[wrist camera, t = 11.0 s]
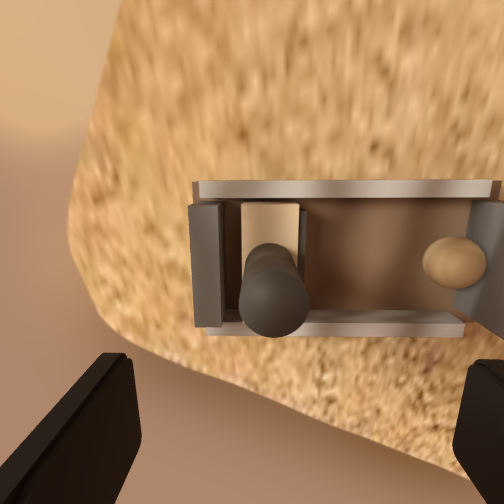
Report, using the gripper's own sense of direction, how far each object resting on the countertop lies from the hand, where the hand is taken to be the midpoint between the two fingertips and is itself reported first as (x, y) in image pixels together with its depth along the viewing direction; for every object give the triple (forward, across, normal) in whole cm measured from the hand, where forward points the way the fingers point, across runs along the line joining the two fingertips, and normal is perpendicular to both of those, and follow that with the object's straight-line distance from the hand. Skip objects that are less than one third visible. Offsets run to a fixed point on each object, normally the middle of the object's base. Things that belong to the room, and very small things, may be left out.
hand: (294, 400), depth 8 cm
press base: (+18, -6, 0) cm, 19 cm away
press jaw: (+17, 0, 0) cm, 17 cm away
